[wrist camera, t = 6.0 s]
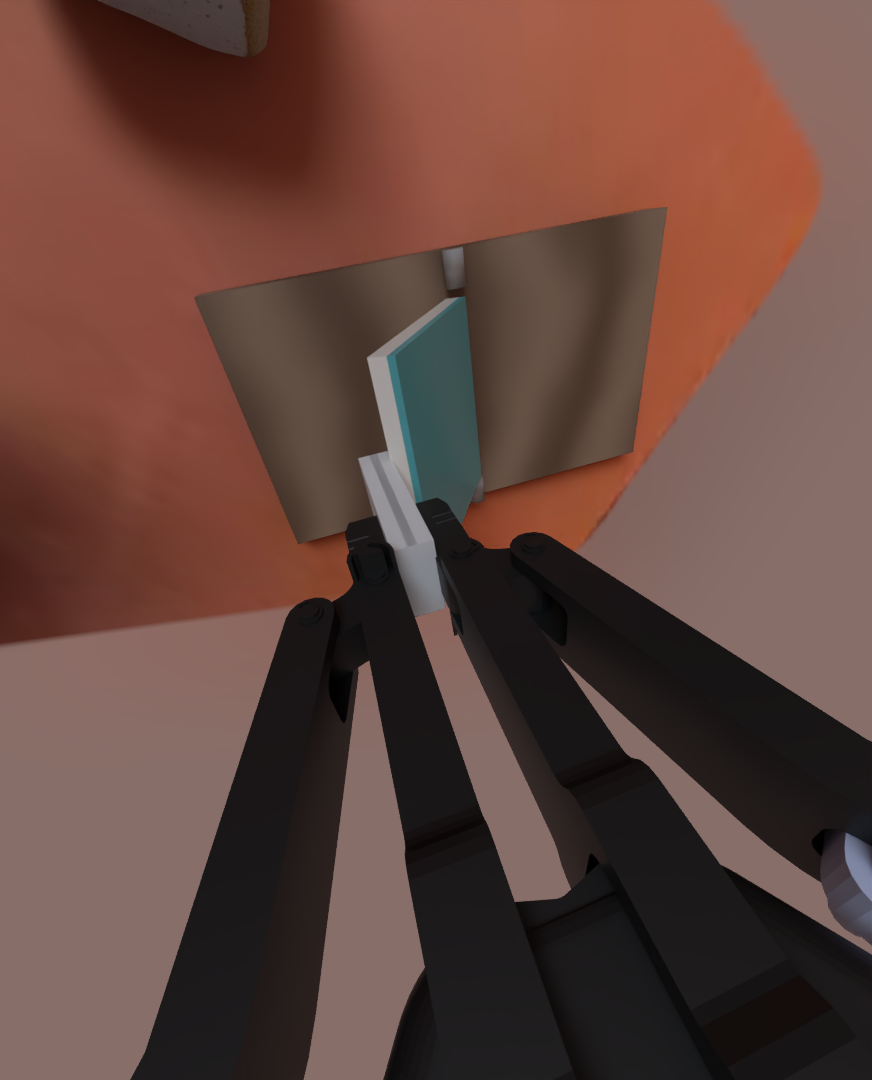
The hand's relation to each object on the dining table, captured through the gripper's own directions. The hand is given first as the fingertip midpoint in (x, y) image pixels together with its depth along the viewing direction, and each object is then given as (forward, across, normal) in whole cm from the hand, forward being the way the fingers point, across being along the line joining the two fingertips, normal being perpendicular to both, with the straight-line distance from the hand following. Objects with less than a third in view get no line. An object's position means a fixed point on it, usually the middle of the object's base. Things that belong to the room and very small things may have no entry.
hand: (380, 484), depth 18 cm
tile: (+3, +3, 0) cm, 5 cm away
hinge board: (+10, +6, 0) cm, 12 cm away
